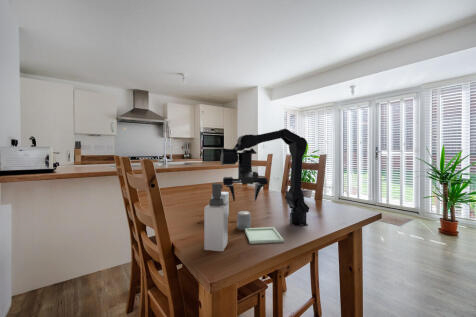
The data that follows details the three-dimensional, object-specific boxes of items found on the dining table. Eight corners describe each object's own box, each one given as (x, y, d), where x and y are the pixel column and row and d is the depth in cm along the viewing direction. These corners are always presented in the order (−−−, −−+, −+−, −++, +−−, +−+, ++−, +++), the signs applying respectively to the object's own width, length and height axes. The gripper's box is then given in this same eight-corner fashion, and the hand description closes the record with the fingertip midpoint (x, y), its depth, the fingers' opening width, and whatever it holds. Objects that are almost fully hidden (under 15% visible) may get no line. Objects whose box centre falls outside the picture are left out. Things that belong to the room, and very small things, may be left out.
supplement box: (225, 220, 102) (225, 194, 102) (210, 219, 104) (210, 193, 103) (229, 216, 109) (229, 191, 109) (215, 215, 111) (215, 191, 110)
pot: (249, 225, 96) (249, 210, 96) (252, 229, 90) (252, 214, 90) (236, 225, 95) (236, 211, 95) (238, 230, 89) (238, 215, 89)
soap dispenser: (228, 240, 79) (229, 181, 79) (222, 251, 71) (223, 185, 70) (212, 239, 80) (212, 181, 80) (204, 249, 72) (204, 184, 71)
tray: (273, 229, 91) (273, 227, 91) (283, 242, 78) (283, 239, 78) (244, 230, 89) (244, 228, 89) (249, 243, 77) (249, 240, 77)
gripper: (224, 165, 82) (224, 206, 82) (271, 165, 84) (271, 204, 85) (222, 164, 93) (222, 199, 93) (264, 164, 95) (264, 198, 96)
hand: (244, 200), depth 91 cm, fingers open, 9 cm apart
